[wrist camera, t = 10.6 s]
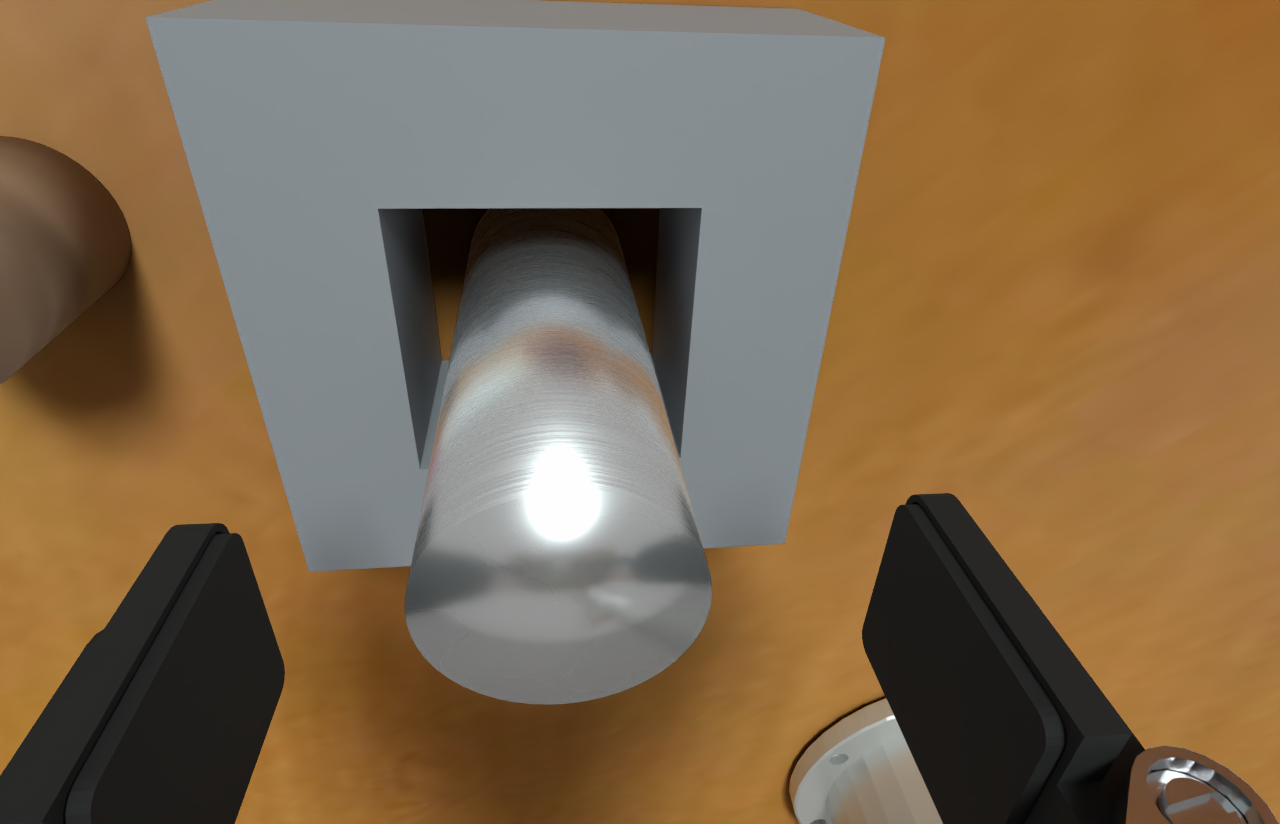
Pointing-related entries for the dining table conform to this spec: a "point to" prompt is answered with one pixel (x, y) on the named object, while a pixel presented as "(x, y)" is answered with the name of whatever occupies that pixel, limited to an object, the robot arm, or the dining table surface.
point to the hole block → (517, 178)
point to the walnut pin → (52, 247)
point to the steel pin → (553, 478)
